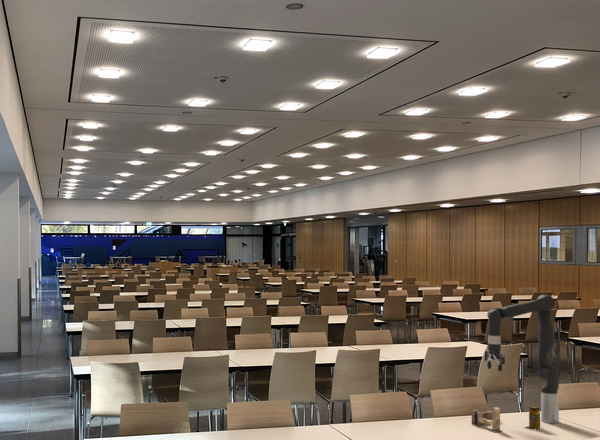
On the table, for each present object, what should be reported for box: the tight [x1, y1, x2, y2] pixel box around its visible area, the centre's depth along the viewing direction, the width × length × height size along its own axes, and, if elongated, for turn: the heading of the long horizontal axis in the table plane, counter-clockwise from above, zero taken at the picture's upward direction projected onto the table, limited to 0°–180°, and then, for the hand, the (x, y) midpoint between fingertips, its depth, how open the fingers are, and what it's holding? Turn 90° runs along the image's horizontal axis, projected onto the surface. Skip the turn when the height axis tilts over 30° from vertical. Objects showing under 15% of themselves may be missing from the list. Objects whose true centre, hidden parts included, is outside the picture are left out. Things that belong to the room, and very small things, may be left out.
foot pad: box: [487, 428, 503, 434], centre depth 356 cm, size 6×6×1 cm
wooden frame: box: [477, 406, 501, 430], centre depth 362 cm, size 15×3×12 cm, turn 33°
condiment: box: [523, 405, 544, 431], centre depth 363 cm, size 7×8×12 cm
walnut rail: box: [471, 409, 492, 426], centre depth 373 cm, size 18×2×8 cm, turn 118°
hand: (494, 369), depth 381 cm, fingers open, 8 cm apart
